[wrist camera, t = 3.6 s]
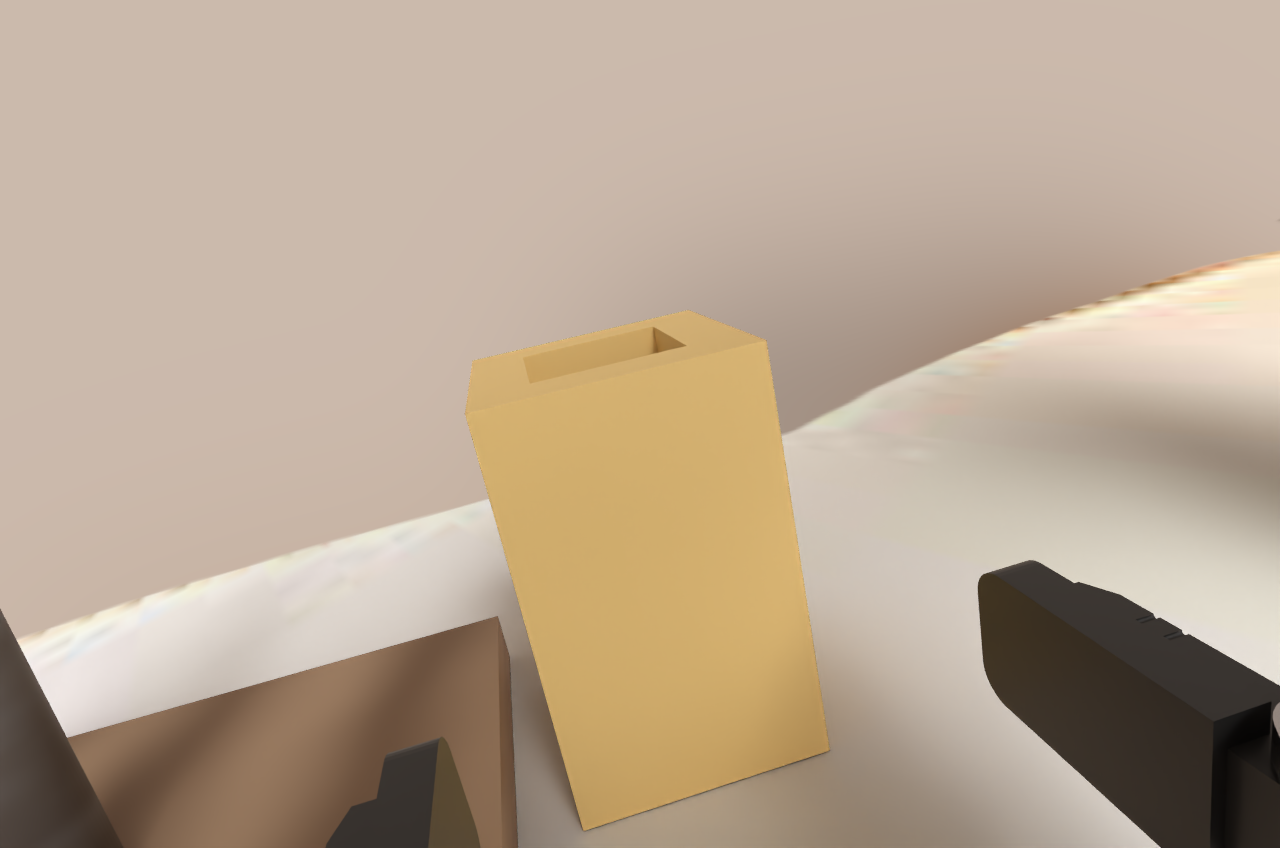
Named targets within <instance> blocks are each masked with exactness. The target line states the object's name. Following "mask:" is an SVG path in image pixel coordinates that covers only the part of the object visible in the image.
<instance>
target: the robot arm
mask: <svg viewBox="0 0 1280 848" xmlns="http://www.w3.org/2000/svg"><path fill="white" fill-rule="evenodd" d="M978 599H979V612H980V626H981V639H982V652H983V663H984V668H985V672H986V675H987V677H988V680H989V682H990V684H991V686H992V688H993V690H994V691H995V693H996V695H997V696H998V697H999V699H1000V700H1001V701H1002V703H1003V704H1004V705H1005V706H1006V707H1007V708H1008V709H1010V710H1011V711H1012V712H1013V713H1014V714H1015V715H1016V716H1017V717H1018V718H1019V719H1021V720H1022V721H1023V722H1024V723H1025V724H1026V725H1027V726H1028V727H1029V728H1030V729H1031V730H1033V731H1034V732H1035V733H1036V734H1037V735H1038V736H1039V737H1040V738H1041V739H1042V740H1044V741H1045V742H1046V743H1047V744H1048V745H1049V746H1050V747H1051V748H1052V749H1053V750H1055V751H1056V752H1057V753H1058V754H1059V755H1060V756H1061V757H1062V758H1063V759H1064V760H1065V761H1067V762H1068V763H1069V764H1070V765H1071V766H1072V767H1073V768H1074V769H1075V770H1076V771H1078V772H1079V773H1080V774H1081V775H1082V776H1083V777H1084V778H1085V779H1086V780H1087V781H1089V782H1090V783H1091V784H1092V785H1093V786H1094V787H1095V788H1096V789H1097V790H1098V791H1100V792H1101V793H1102V794H1103V795H1104V796H1105V797H1106V798H1107V799H1108V800H1109V801H1110V802H1112V803H1113V804H1114V805H1115V806H1116V807H1117V808H1118V809H1119V810H1120V811H1121V812H1123V813H1124V814H1125V815H1126V816H1127V817H1128V818H1129V819H1130V820H1131V821H1132V822H1134V823H1135V824H1136V825H1137V826H1138V827H1139V828H1140V829H1141V830H1142V831H1143V832H1144V833H1146V834H1147V835H1148V836H1149V837H1150V838H1151V839H1152V840H1153V841H1154V842H1155V843H1157V844H1158V845H1159V846H1160V847H1161V848H1280V686H1279V685H1277V684H1275V683H1274V682H1272V681H1270V680H1268V679H1267V678H1265V677H1263V676H1261V675H1260V674H1258V673H1256V672H1254V671H1253V670H1251V669H1249V668H1247V667H1246V666H1244V665H1242V664H1240V663H1239V662H1237V661H1235V660H1233V659H1232V658H1230V657H1228V656H1226V655H1225V654H1223V653H1221V652H1219V651H1218V650H1216V649H1214V648H1212V647H1211V646H1209V645H1207V644H1205V643H1204V642H1202V641H1200V640H1198V639H1197V638H1195V637H1193V636H1191V635H1190V634H1188V635H1184V634H1183V633H1182V630H1181V629H1179V628H1177V627H1176V626H1174V625H1172V624H1170V623H1169V622H1167V621H1165V620H1163V619H1162V618H1158V619H1156V618H1155V617H1154V615H1153V613H1151V612H1149V611H1148V610H1146V609H1144V608H1142V607H1141V606H1139V605H1137V604H1135V603H1134V602H1132V601H1130V600H1128V599H1127V598H1125V597H1123V596H1121V595H1119V594H1116V593H1113V592H1110V591H1106V590H1103V589H1100V588H1097V587H1093V586H1090V585H1087V584H1083V583H1080V582H1077V583H1073V582H1071V581H1070V580H1068V579H1066V578H1065V577H1063V576H1061V575H1059V574H1058V573H1056V572H1054V571H1053V570H1051V569H1049V568H1048V567H1046V566H1044V565H1043V564H1041V563H1039V562H1037V561H1033V560H1029V561H1025V562H1022V563H1019V564H1015V565H1012V566H1009V567H1006V568H1002V569H999V570H996V571H992V572H989V573H986V574H983V575H982V576H981V577H980V579H979V582H978ZM325 848H480V842H479V837H478V833H477V829H476V825H475V822H474V819H473V816H472V813H471V810H470V807H469V804H468V801H467V798H466V795H465V792H464V789H463V786H462V783H461V780H460V777H459V774H458V771H457V768H456V765H455V762H454V759H453V756H452V753H451V750H450V748H449V745H448V743H447V741H446V740H445V738H444V737H440V738H436V739H433V740H430V741H426V742H423V743H420V744H417V745H413V746H410V747H407V748H403V749H400V750H397V751H393V752H390V753H388V754H387V755H386V756H385V759H384V763H383V768H382V773H381V778H380V783H379V788H378V793H377V798H376V799H374V800H370V801H367V802H364V803H361V804H358V805H354V806H351V808H350V809H349V811H348V812H347V814H346V815H345V817H344V818H343V820H342V821H341V823H340V824H339V826H338V827H337V829H336V830H335V832H334V833H333V835H332V836H331V838H330V839H329V841H328V842H327V844H326V847H325Z"/></svg>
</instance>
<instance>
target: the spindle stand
mask: <svg viewBox="0 0 1280 848" xmlns="http://www.w3.org/2000/svg"><path fill="white" fill-rule="evenodd" d="M440 737H444V738H445V740H446V741H447V743H448V745H449V748H450V750H451V753H452V756H453V759H454V762H455V765H456V768H457V771H458V774H459V777H460V780H461V783H462V786H463V789H464V792H465V795H466V798H467V801H468V804H469V807H470V810H471V813H472V816H473V819H474V822H475V825H476V829H477V833H478V837H479V842H480V848H518V839H517V816H516V794H515V771H514V749H513V727H512V704H511V682H510V660H509V653H508V650H507V646H506V643H505V639H504V636H503V633H502V629H501V626H500V623H499V619H498V616H497V617H493V618H490V619H486V620H483V621H479V622H476V623H472V624H469V625H465V626H461V627H458V628H454V629H451V630H447V631H444V632H440V633H437V634H433V635H430V636H426V637H423V638H419V639H415V640H412V641H408V642H405V643H401V644H398V645H394V646H391V647H387V648H384V649H380V650H377V651H373V652H370V653H366V654H362V655H359V656H355V657H352V658H348V659H345V660H341V661H338V662H334V663H331V664H327V665H324V666H320V667H316V668H313V669H309V670H306V671H302V672H299V673H295V674H292V675H288V676H285V677H281V678H278V679H274V680H271V681H267V682H263V683H260V684H256V685H253V686H249V687H246V688H242V689H239V690H235V691H232V692H228V693H225V694H221V695H218V696H214V697H210V698H207V699H203V700H200V701H196V702H193V703H189V704H186V705H182V706H179V707H175V708H172V709H168V710H164V711H161V712H157V713H154V714H150V715H147V716H143V717H140V718H136V719H133V720H129V721H126V722H122V723H119V724H115V725H111V726H108V727H104V728H101V729H97V730H94V731H90V732H87V733H83V734H80V735H76V736H73V737H69V738H67V737H66V735H65V733H64V731H63V729H62V727H61V726H60V724H59V722H58V720H57V718H56V716H55V714H54V712H53V710H52V708H51V706H50V704H49V702H48V700H47V698H46V696H45V695H44V693H43V691H42V689H41V687H40V685H39V683H38V681H37V679H36V677H35V675H34V673H33V671H32V669H31V667H30V666H29V664H28V662H27V660H26V658H25V656H24V654H23V652H22V650H21V648H20V646H19V644H18V642H17V640H16V638H15V637H14V635H13V633H12V631H11V629H10V627H9V625H8V623H7V621H6V619H5V617H4V615H3V613H2V611H1V609H0V848H325V847H326V844H327V842H328V841H329V839H330V838H331V836H332V835H333V833H334V832H335V830H336V829H337V827H338V826H339V824H340V823H341V821H342V820H343V818H344V817H345V815H346V814H347V812H348V811H349V809H350V808H351V806H354V805H358V804H361V803H364V802H367V801H370V800H374V799H376V798H377V793H378V788H379V783H380V778H381V773H382V768H383V763H384V759H385V756H386V755H387V754H388V753H390V752H393V751H397V750H400V749H403V748H407V747H410V746H413V745H417V744H420V743H423V742H426V741H430V740H433V739H436V738H440Z"/></svg>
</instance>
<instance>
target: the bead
mask: <svg viewBox="0 0 1280 848" xmlns="http://www.w3.org/2000/svg"><path fill="white" fill-rule="evenodd" d="M465 415H466V419H467V422H468V426H469V429H470V433H471V436H472V440H473V443H474V447H475V450H476V454H477V457H478V461H479V464H480V468H481V471H482V475H483V478H484V482H485V486H486V489H487V493H488V496H489V500H490V503H491V507H492V510H493V514H494V517H495V521H496V524H497V528H498V531H499V535H500V538H501V542H502V546H503V549H504V553H505V556H506V560H507V563H508V567H509V570H510V574H511V577H512V581H513V584H514V588H515V591H516V595H517V598H518V602H519V605H520V609H521V613H522V616H523V620H524V623H525V627H526V630H527V634H528V637H529V641H530V644H531V648H532V651H533V655H534V658H535V662H536V665H537V669H538V672H539V676H540V680H541V683H542V687H543V690H544V694H545V697H546V701H547V704H548V708H549V711H550V715H551V718H552V722H553V725H554V729H555V732H556V736H557V739H558V743H559V747H560V750H561V754H562V757H563V761H564V764H565V768H566V771H567V775H568V778H569V782H570V785H571V789H572V792H573V796H574V799H575V803H576V806H577V810H578V814H579V817H580V821H581V824H582V828H583V831H586V830H589V829H592V828H595V827H598V826H601V825H604V824H607V823H610V822H613V821H616V820H619V819H622V818H626V817H629V816H632V815H635V814H638V813H641V812H644V811H647V810H650V809H653V808H656V807H659V806H662V805H665V804H668V803H671V802H674V801H677V800H680V799H684V798H687V797H690V796H693V795H696V794H699V793H702V792H705V791H708V790H711V789H714V788H717V787H720V786H723V785H726V784H729V783H732V782H735V781H739V780H742V779H745V778H748V777H751V776H754V775H757V774H760V773H763V772H766V771H769V770H772V769H775V768H778V767H781V766H784V765H787V764H790V763H793V762H797V761H800V760H803V759H806V758H809V757H812V756H815V755H818V754H821V753H824V752H827V751H830V748H829V742H828V735H827V729H826V722H825V716H824V709H823V703H822V696H821V690H820V683H819V677H818V671H817V664H816V658H815V651H814V645H813V638H812V632H811V625H810V619H809V612H808V606H807V599H806V593H805V586H804V580H803V574H802V567H801V561H800V554H799V548H798V541H797V535H796V528H795V522H794V515H793V509H792V502H791V496H790V489H789V483H788V476H787V470H786V464H785V457H784V451H783V444H782V438H781V431H780V425H779V419H778V412H777V405H776V399H775V393H774V386H773V379H772V373H771V367H770V360H769V354H768V347H767V341H766V340H765V339H762V338H759V337H757V336H754V335H752V334H749V333H746V332H744V331H741V330H739V329H736V328H733V327H731V326H728V325H726V324H723V323H721V322H718V321H715V320H713V319H710V318H708V317H705V316H703V315H700V314H697V313H695V312H692V311H690V310H687V311H683V312H678V313H674V314H670V315H665V316H661V317H657V318H653V319H649V320H644V321H640V322H636V323H631V324H627V325H623V326H619V327H614V328H610V329H606V330H602V331H597V332H593V333H589V334H585V335H580V336H576V337H572V338H568V339H563V340H559V341H555V342H551V343H546V344H542V345H538V346H534V347H529V348H525V349H521V350H516V351H512V352H508V353H504V354H499V355H495V356H491V357H487V358H483V359H478V360H474V361H473V362H472V369H471V376H470V383H469V390H468V397H467V404H466V411H465Z"/></svg>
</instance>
